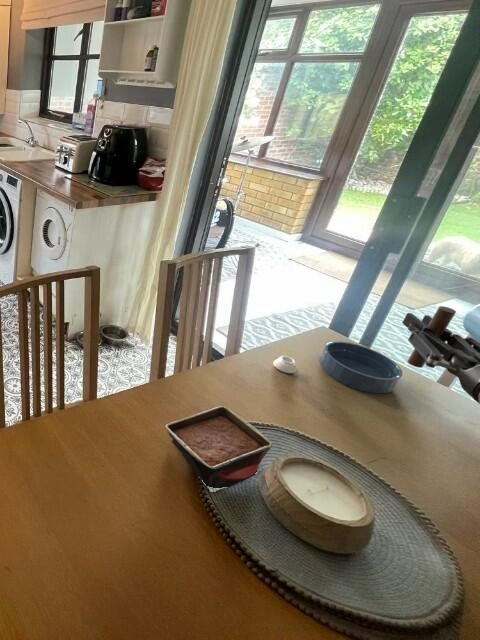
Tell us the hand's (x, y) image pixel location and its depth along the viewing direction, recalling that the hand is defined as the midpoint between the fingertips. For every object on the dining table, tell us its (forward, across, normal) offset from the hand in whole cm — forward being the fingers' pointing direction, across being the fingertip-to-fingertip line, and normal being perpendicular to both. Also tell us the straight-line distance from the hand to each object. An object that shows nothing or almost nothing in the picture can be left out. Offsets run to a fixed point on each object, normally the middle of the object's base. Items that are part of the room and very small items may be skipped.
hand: (415, 319), depth 90 cm
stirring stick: (-6, 0, -8) cm, 10 cm away
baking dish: (-30, -41, -24) cm, 56 cm away
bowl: (+10, +1, -24) cm, 26 cm away
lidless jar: (+7, -16, -24) cm, 30 cm away
